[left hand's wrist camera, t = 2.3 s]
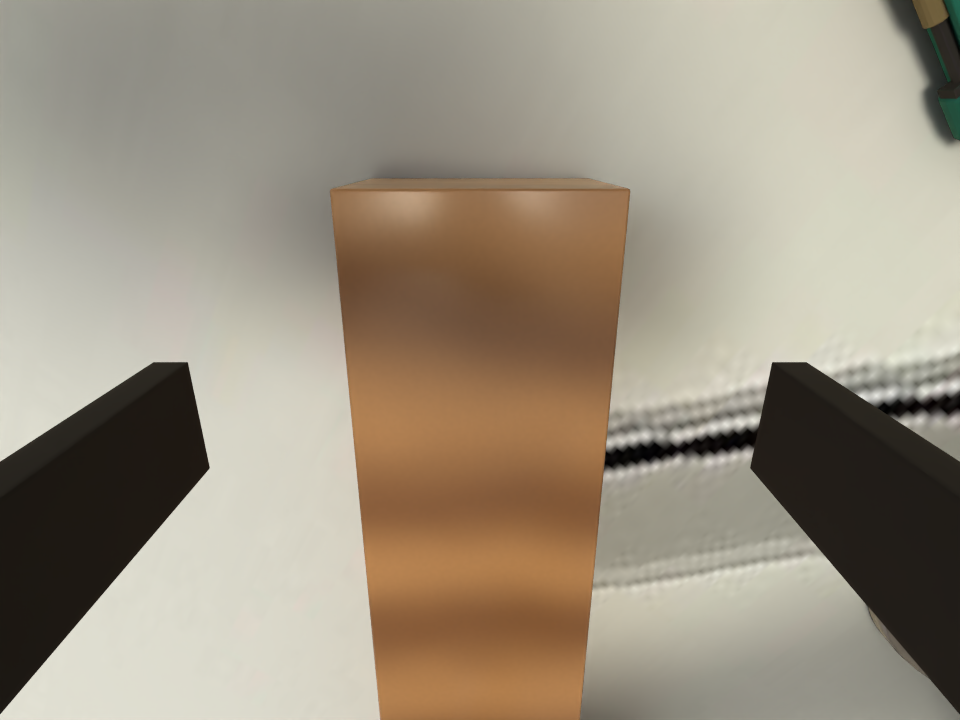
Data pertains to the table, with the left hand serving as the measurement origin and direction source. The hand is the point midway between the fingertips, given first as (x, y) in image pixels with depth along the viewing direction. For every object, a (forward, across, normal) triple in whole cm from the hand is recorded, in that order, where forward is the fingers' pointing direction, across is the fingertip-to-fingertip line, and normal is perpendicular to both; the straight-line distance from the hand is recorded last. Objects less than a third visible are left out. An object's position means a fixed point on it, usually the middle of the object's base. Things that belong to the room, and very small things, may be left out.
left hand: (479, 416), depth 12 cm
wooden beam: (+15, 0, -23) cm, 28 cm away
